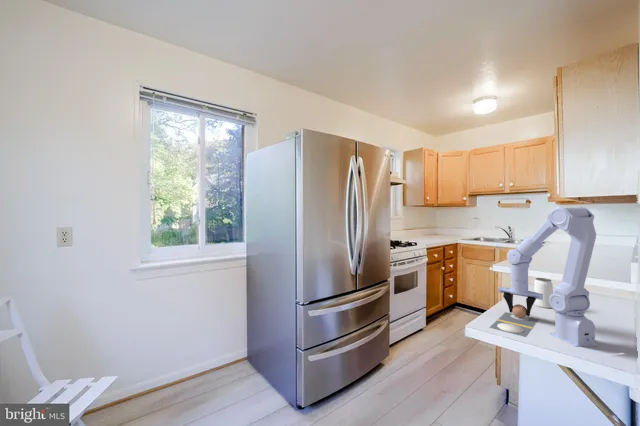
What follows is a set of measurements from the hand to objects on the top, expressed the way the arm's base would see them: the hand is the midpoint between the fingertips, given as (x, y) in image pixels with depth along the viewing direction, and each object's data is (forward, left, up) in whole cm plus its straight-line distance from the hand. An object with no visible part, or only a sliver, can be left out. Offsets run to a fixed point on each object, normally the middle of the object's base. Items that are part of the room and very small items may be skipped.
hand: (519, 313), depth 111 cm
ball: (0, 0, +1) cm, 1 cm away
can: (+12, -22, -2) cm, 25 cm away
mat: (-5, +6, -2) cm, 8 cm away
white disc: (-9, +12, -2) cm, 15 cm away
